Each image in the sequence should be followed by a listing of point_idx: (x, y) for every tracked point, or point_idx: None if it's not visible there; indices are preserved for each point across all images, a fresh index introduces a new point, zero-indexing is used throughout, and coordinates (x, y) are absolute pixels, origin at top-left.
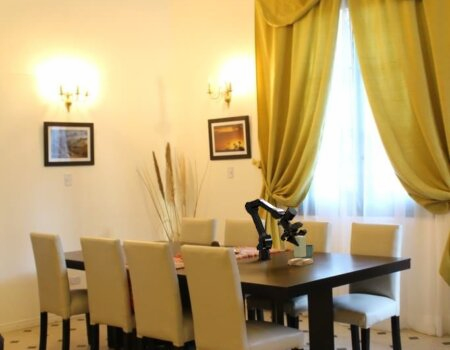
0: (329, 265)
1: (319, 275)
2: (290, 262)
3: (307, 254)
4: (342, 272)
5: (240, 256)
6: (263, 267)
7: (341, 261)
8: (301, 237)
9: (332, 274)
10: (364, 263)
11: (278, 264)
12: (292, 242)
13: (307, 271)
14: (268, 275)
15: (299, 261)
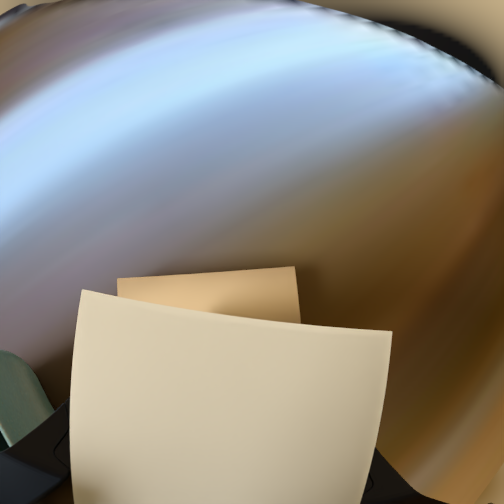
0: (189, 118)
1: (444, 77)
2: None
3: (31, 393)
4: (346, 23)
5: None
6: (453, 446)
7: (17, 149)
8: (308, 326)
9: (401, 44)
10: (72, 39)
11: None
12: None
13: (430, 143)
14: None
15: (298, 315)
